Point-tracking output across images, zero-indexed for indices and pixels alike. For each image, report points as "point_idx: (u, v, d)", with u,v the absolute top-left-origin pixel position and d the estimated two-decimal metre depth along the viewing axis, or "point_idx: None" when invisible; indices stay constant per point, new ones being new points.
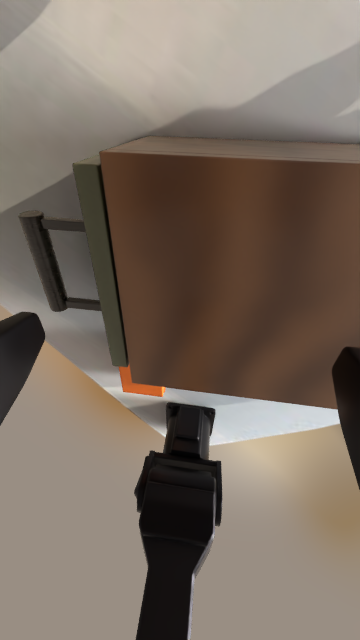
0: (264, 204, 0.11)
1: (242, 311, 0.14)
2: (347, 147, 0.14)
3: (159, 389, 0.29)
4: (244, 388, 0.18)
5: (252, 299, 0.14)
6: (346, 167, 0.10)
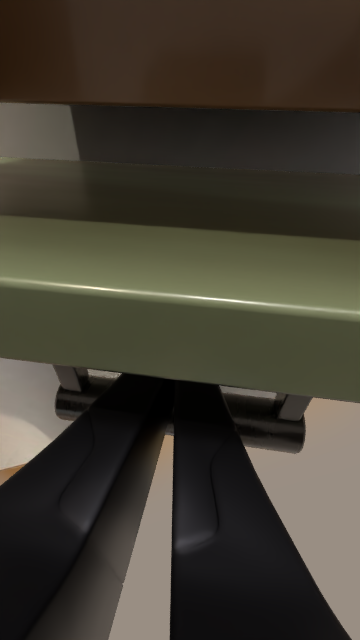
0: None
1: None
2: None
3: None
4: None
5: None
6: None
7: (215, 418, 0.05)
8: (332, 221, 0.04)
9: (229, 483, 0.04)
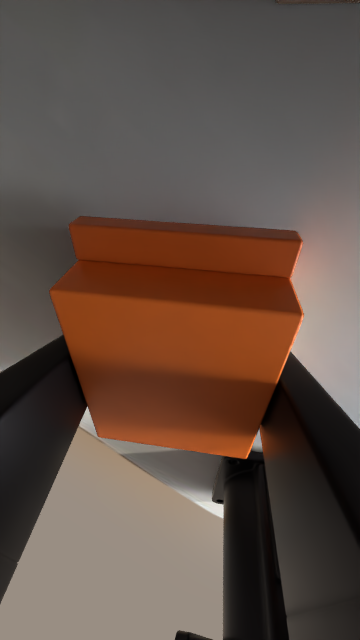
0: None
1: None
2: None
3: (244, 435, 0.07)
4: None
5: None
6: None
7: (350, 436, 0.04)
8: None
9: None
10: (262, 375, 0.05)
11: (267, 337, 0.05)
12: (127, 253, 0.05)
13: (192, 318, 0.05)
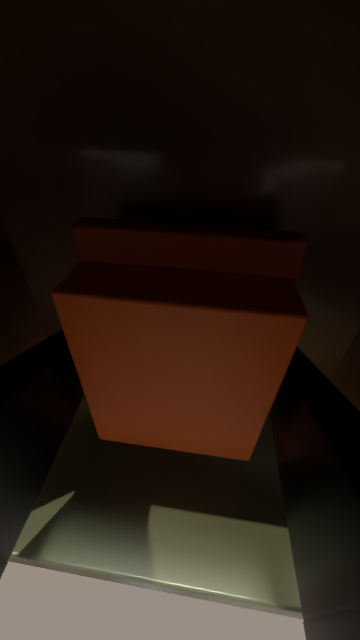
0: None
1: None
2: None
3: (247, 437, 0.07)
4: None
5: None
6: None
7: None
8: (240, 493, 0.09)
9: None
10: (266, 377, 0.05)
11: (272, 339, 0.05)
12: (130, 254, 0.05)
13: (196, 320, 0.05)
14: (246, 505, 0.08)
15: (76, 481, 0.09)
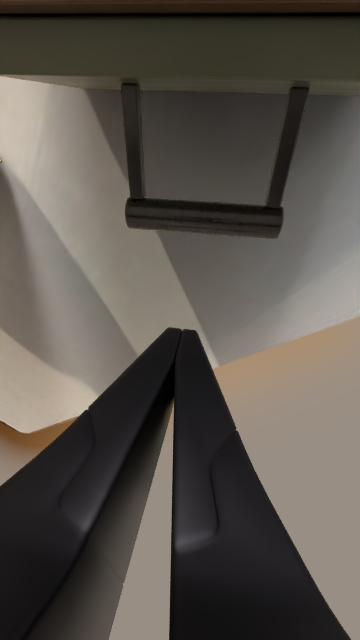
0: None
1: None
2: None
3: None
4: None
5: None
6: None
7: (215, 418, 0.05)
8: None
9: (229, 483, 0.04)
10: None
11: None
12: None
13: None
14: None
15: None
